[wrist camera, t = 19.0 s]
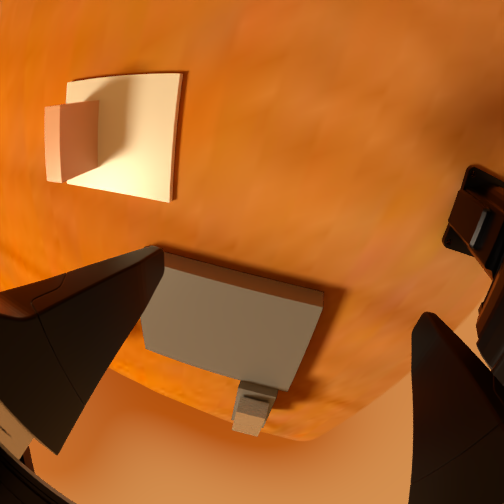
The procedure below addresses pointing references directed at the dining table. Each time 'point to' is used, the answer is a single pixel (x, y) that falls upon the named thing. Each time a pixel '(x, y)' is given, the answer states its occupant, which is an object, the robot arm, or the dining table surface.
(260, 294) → the case
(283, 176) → the dining table surface
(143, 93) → the cover
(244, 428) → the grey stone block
